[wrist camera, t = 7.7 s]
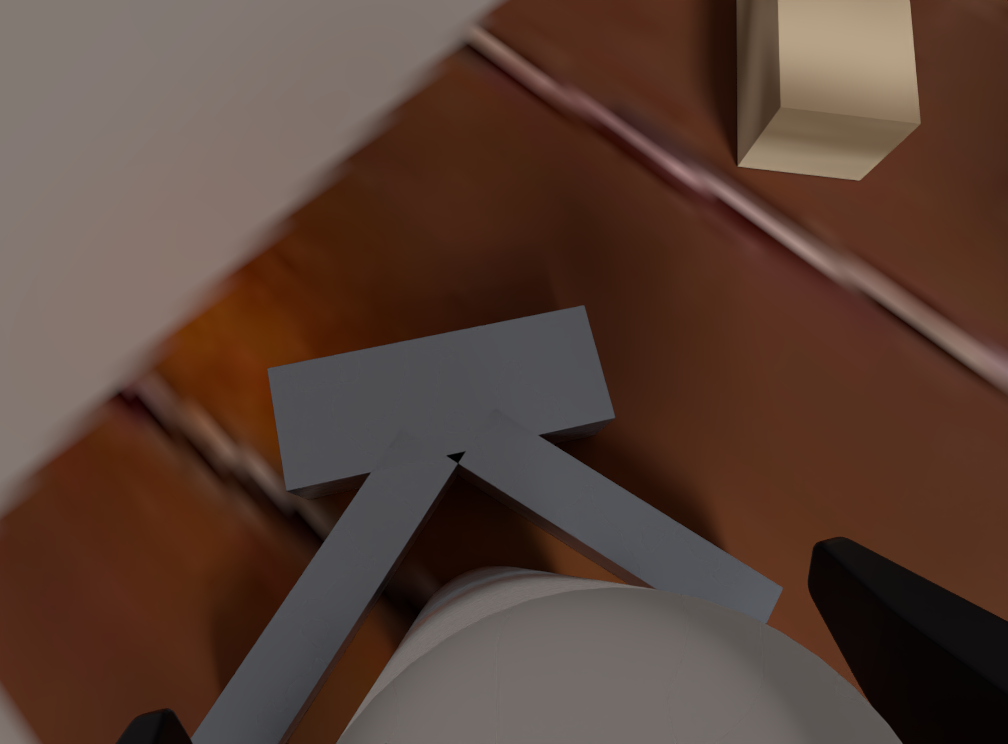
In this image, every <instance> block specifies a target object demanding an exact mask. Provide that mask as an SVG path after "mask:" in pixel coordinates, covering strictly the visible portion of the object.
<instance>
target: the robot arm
mask: <svg viewBox="0 0 1008 744" xmlns="http://www.w3.org/2000/svg"><path fill="white" fill-rule="evenodd" d="M808 588H809V592H810V595H811V597H812V599H813V601H814V603H815V605H816V607H817V609H818V610H819V612H820V614H821V616H822V618H823V620H824V622H825V623H826V625H827V627H828V629H829V631H830V633H831V634H832V636H833V638H834V640H835V642H836V644H837V645H838V647H839V649H840V651H841V653H842V655H843V657H844V658H845V660H846V662H847V664H848V666H849V668H850V669H851V671H852V673H853V675H854V677H855V679H856V680H857V682H858V684H859V686H860V687H861V689H862V691H863V693H864V694H865V696H866V698H867V699H868V701H869V702H870V704H871V705H872V707H873V708H874V709H875V710H876V711H877V712H878V713H879V715H880V716H881V717H882V718H883V719H884V720H885V721H886V722H887V723H888V724H889V726H890V727H891V729H892V730H893V731H894V733H895V734H896V735H897V737H898V738H899V739H900V741H901V742H902V744H1008V621H1006V620H1004V619H1002V618H1000V617H998V616H996V615H994V614H992V613H990V612H989V611H987V610H985V609H983V608H981V607H979V606H977V605H975V604H973V603H971V602H969V601H967V600H966V599H964V598H962V597H960V596H958V595H956V594H954V593H952V592H950V591H948V590H946V589H944V588H942V587H941V586H939V585H937V584H935V583H933V582H931V581H929V580H927V579H925V578H923V577H921V576H919V575H917V574H916V573H914V572H912V571H910V570H908V569H906V568H904V567H902V566H900V565H898V564H896V563H894V562H892V561H891V560H889V559H887V558H885V557H883V556H881V555H879V554H877V553H875V552H873V551H871V550H869V549H867V548H866V547H864V546H862V545H860V544H858V543H856V542H854V541H852V540H850V539H848V538H845V537H835V538H831V539H827V540H823V541H819V542H817V543H816V544H815V545H814V547H813V551H812V557H811V563H810V569H809V575H808ZM116 744H193V743H192V741H191V739H190V737H189V736H188V734H187V732H186V731H185V729H184V727H183V726H182V724H181V722H180V721H179V719H178V717H177V716H176V714H175V713H174V711H173V710H171V709H169V708H164V709H160V710H156V711H153V712H149V713H145V714H142V715H139V716H137V717H136V718H135V719H134V720H133V721H132V722H131V723H130V724H129V726H128V727H127V728H126V730H125V731H124V733H123V734H122V735H121V737H120V738H119V740H118V741H117V742H116Z"/></svg>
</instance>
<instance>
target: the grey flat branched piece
mask: <svg viewBox="0 0 1008 744" xmlns="http://www.w3.org/2000/svg"><path fill="white" fill-rule="evenodd" d="M267 370H268V376H269V383H270V389H271V396H272V402H273V408H274V415H275V421H276V428H277V434H278V441H279V447H280V454H281V460H282V466H283V473H284V479H285V486H286V491H288V492H290V493H293V494H295V495H298V496H300V497H303V498H305V499H308V500H309V499H313V498H318V497H322V496H327V495H331V494H336V493H340V492H345V491H349V490H353V489H358V488H360V490H359V491H358V493H357V494H356V496H355V497H354V498H353V500H352V501H351V503H350V504H349V506H348V507H347V509H346V510H345V512H344V513H343V515H342V516H341V518H340V519H339V521H338V522H337V524H336V525H335V527H334V528H333V529H332V531H331V532H330V534H329V535H328V537H327V538H326V540H325V541H324V543H323V544H322V546H321V547H320V549H319V550H318V552H317V553H316V555H315V556H314V558H313V559H312V560H311V562H310V563H309V565H308V566H307V568H306V569H305V571H304V572H303V574H302V575H301V577H300V578H299V580H298V581H297V583H296V584H295V586H294V587H293V589H292V590H291V591H290V593H289V594H288V596H287V597H286V599H285V600H284V602H283V603H282V605H281V606H280V608H279V609H278V611H277V612H276V614H275V615H274V617H273V618H272V620H271V621H270V622H269V624H268V625H267V627H266V628H265V630H264V631H263V633H262V634H261V636H260V637H259V639H258V640H257V642H256V643H255V645H254V646H253V648H252V649H251V651H250V652H249V653H248V655H247V656H246V658H245V659H244V661H243V662H242V664H241V665H240V667H239V668H238V670H237V671H236V673H235V674H234V676H233V677H232V679H231V680H230V682H229V683H228V684H227V686H226V687H225V689H224V690H223V692H222V693H221V695H220V696H219V698H218V699H217V701H216V702H215V704H214V705H213V707H212V708H211V710H210V711H209V713H208V714H207V715H206V717H205V718H204V720H203V721H202V723H201V724H200V726H199V727H198V729H197V730H196V732H195V733H194V735H193V736H192V738H191V741H192V743H193V744H286V743H287V741H288V740H289V738H290V737H291V735H292V733H293V732H294V730H295V729H296V727H297V726H298V724H299V722H300V721H301V719H302V718H303V716H304V715H305V713H306V712H307V710H308V708H309V707H310V705H311V704H312V702H313V701H314V699H315V697H316V696H317V694H318V693H319V691H320V690H321V688H322V686H323V685H324V683H325V682H326V680H327V679H328V677H329V676H330V674H331V672H332V671H333V669H334V668H335V666H336V665H337V663H338V661H339V660H340V658H341V657H342V655H343V654H344V652H345V650H346V649H347V647H348V646H349V644H350V643H351V641H352V640H353V638H354V636H355V635H356V633H357V632H358V630H359V629H360V627H361V625H362V624H363V622H364V621H365V619H366V618H367V616H368V614H369V613H370V611H371V610H372V608H373V607H374V605H375V604H376V602H377V600H378V599H379V597H380V596H381V594H382V593H383V591H384V589H385V588H386V586H387V585H388V583H389V582H390V580H391V578H392V577H393V575H394V574H395V572H396V571H397V569H398V568H399V566H400V564H401V563H402V561H403V560H404V558H405V557H406V555H407V553H408V552H409V550H410V549H411V547H412V546H413V544H414V542H415V541H416V539H417V538H418V536H419V535H420V533H421V532H422V530H423V528H424V527H425V525H426V524H427V522H428V521H429V519H430V517H431V516H432V514H433V513H434V511H435V510H436V508H437V506H438V505H439V503H440V502H441V500H442V499H443V497H444V496H445V494H446V492H447V491H448V489H449V488H450V486H451V485H452V483H453V481H454V480H455V478H456V477H457V471H458V476H459V477H461V478H463V479H464V480H466V481H467V482H469V483H471V484H472V485H474V486H475V487H477V488H478V489H480V490H482V491H483V492H485V493H486V494H488V495H489V496H491V497H493V498H494V499H496V500H497V501H499V502H500V503H502V504H504V505H505V506H507V507H508V508H510V509H511V510H513V511H515V512H516V513H518V514H519V515H521V516H522V517H524V518H526V519H527V520H529V521H530V522H532V523H533V524H535V525H537V526H538V527H540V528H541V529H543V530H544V531H546V532H548V533H549V534H551V535H552V536H554V537H555V538H557V539H559V540H560V541H562V542H563V543H565V544H566V545H568V546H570V547H571V548H573V549H574V550H576V551H577V552H579V553H581V554H582V555H584V556H585V557H587V558H588V559H590V560H592V561H593V562H595V563H596V564H598V565H599V566H601V567H603V568H604V569H606V570H607V571H609V572H610V573H612V574H614V575H615V576H617V577H618V578H620V579H621V580H623V581H625V582H626V583H628V584H629V585H631V586H638V587H644V588H650V589H657V590H662V591H667V592H672V593H677V594H682V595H687V596H692V597H697V598H701V599H704V600H707V601H710V602H713V603H716V604H719V605H722V606H725V607H728V608H730V609H733V610H736V611H739V612H742V613H744V614H746V615H748V616H750V617H752V618H754V619H756V620H758V621H760V622H762V623H764V624H766V623H767V621H768V619H769V617H770V615H771V612H772V610H773V608H774V606H775V604H776V602H777V600H778V598H779V596H780V593H781V591H782V589H783V588H782V587H780V586H779V585H777V584H776V583H774V582H772V581H771V580H769V579H768V578H766V577H764V576H763V575H761V574H760V573H758V572H756V571H755V570H753V569H752V568H750V567H748V566H747V565H745V564H744V563H742V562H740V561H739V560H737V559H736V558H734V557H732V556H731V555H729V554H728V553H726V552H724V551H723V550H721V549H720V548H718V547H716V546H715V545H713V544H712V543H710V542H708V541H707V540H705V539H704V538H702V537H700V536H699V535H697V534H696V533H694V532H692V531H691V530H689V529H688V528H686V527H684V526H683V525H681V524H679V523H678V522H676V521H675V520H673V519H671V518H670V517H668V516H667V515H665V514H663V513H662V512H660V511H659V510H657V509H655V508H654V507H652V506H651V505H649V504H647V503H646V502H644V501H643V500H641V499H639V498H638V497H636V496H635V495H633V494H631V493H630V492H628V491H627V490H625V489H623V488H622V487H620V486H619V485H617V484H615V483H614V482H612V481H611V480H609V479H607V478H606V477H604V476H603V475H601V474H599V473H598V472H596V471H595V470H593V469H591V468H590V467H588V466H587V465H585V464H583V463H582V462H580V461H579V460H577V459H575V458H574V457H572V456H570V455H569V454H567V453H566V452H564V451H562V450H561V449H559V448H558V447H556V446H554V444H558V443H563V442H567V441H572V440H576V439H580V438H585V437H589V436H594V435H596V434H597V433H598V432H600V431H601V430H602V429H603V428H604V427H605V426H606V425H608V424H609V423H610V422H611V421H612V420H613V419H615V415H614V411H613V407H612V404H611V400H610V397H609V393H608V389H607V386H606V382H605V379H604V375H603V371H602V368H601V364H600V361H599V357H598V353H597V350H596V346H595V343H594V339H593V335H592V332H591V328H590V325H589V321H588V317H587V314H586V310H585V307H584V305H583V306H578V307H573V308H568V309H563V310H558V311H553V312H548V313H543V314H538V315H533V316H528V317H523V318H518V319H513V320H508V321H503V322H498V323H493V324H488V325H483V326H478V327H473V328H468V329H463V330H458V331H453V332H448V333H443V334H438V335H433V336H428V337H423V338H418V339H413V340H408V341H403V342H398V343H393V344H388V345H383V346H378V347H373V348H368V349H363V350H358V351H353V352H347V353H342V354H337V355H332V356H327V357H322V358H317V359H312V360H307V361H302V362H297V363H292V364H287V365H282V366H277V367H272V368H267Z"/></svg>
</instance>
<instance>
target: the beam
mask: <svg viewBox="0 0 1008 744" xmlns="http://www.w3.org/2000/svg"><path fill="white" fill-rule="evenodd" d="M920 124H921V123H920V111H919V100H918V89H917V77H916V66H915V55H914V43H913V32H912V20H911V9H910V0H737V141H738V167H747V168H756V169H764V170H773V171H782V172H790V173H799V174H807V175H816V176H825V177H833V178H842V179H851V180H859V181H860V180H861V179H862V178H863V177H864V176H865V175H866V174H867V173H868V172H869V171H870V170H871V169H873V168H874V167H875V166H876V165H877V164H878V163H879V162H880V161H881V160H882V159H883V158H884V157H885V156H887V155H888V154H889V153H890V152H891V151H892V150H893V149H894V148H895V147H896V146H897V145H898V144H899V143H901V142H902V141H903V140H904V139H905V138H906V137H907V136H908V135H909V134H910V133H911V132H912V131H913V130H915V129H916V128H917V127H918V126H919V125H920Z"/></svg>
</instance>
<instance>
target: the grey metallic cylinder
mask: <svg viewBox="0 0 1008 744" xmlns="http://www.w3.org/2000/svg"><path fill="white" fill-rule="evenodd" d="M336 744H902V742H901V741H900V739H899V738H898V737H897V735H896V734H895V733H894V731H893V730H892V729H891V727H890V726H889V724H888V723H887V722H886V721H885V720H884V719H883V718H882V717H881V716H880V715H879V713H878V712H877V711H876V710H875V709H874V708H873V707H872V706H871V705H870V704H869V703H868V702H867V700H866V699H865V698H864V697H863V696H862V695H861V694H860V693H859V692H858V691H857V690H856V689H855V688H854V687H853V686H852V685H851V684H850V683H849V682H847V681H846V680H845V679H844V678H843V677H842V676H840V675H839V674H838V673H837V672H836V671H835V670H833V669H832V668H831V667H830V666H829V665H828V664H826V663H825V662H824V661H823V660H822V659H821V658H819V657H818V656H816V655H815V654H813V653H812V652H810V651H809V650H807V649H806V648H804V647H803V646H801V645H800V644H798V643H797V642H795V641H794V640H792V639H791V638H789V637H788V636H786V635H785V634H783V633H782V632H780V631H778V630H776V629H774V628H772V627H770V626H768V625H766V624H764V623H762V622H760V621H758V620H756V619H754V618H752V617H750V616H748V615H746V614H744V613H742V612H739V611H736V610H733V609H730V608H728V607H725V606H722V605H719V604H716V603H713V602H710V601H707V600H704V599H701V598H697V597H692V596H687V595H682V594H677V593H672V592H667V591H662V590H657V589H650V588H644V587H638V586H631V585H625V584H619V583H612V582H606V581H600V580H593V579H587V578H581V577H574V576H568V575H562V574H556V573H549V572H543V571H537V570H530V569H524V568H518V567H511V566H499V565H495V566H484V567H480V568H475V569H472V570H469V571H467V572H464V573H462V574H460V575H458V576H456V577H454V578H452V579H451V580H450V581H448V582H447V583H445V584H444V585H443V586H442V587H441V588H439V589H438V590H437V591H436V592H435V593H434V594H433V595H432V597H431V598H430V599H429V600H428V601H427V603H426V604H425V606H424V607H423V609H422V610H421V612H420V613H419V615H418V617H417V618H416V620H415V621H414V623H413V624H412V626H411V627H410V629H409V631H408V632H407V634H406V635H405V637H404V638H403V640H402V641H401V643H400V645H399V646H398V648H397V649H396V651H395V652H394V654H393V655H392V657H391V659H390V660H389V662H388V663H387V665H386V666H385V668H384V669H383V671H382V673H381V674H380V676H379V677H378V679H377V680H376V682H375V684H374V685H373V687H372V688H371V690H370V691H369V693H368V694H367V696H366V698H365V699H364V701H363V702H362V704H361V705H360V707H359V708H358V710H357V712H356V713H355V715H354V716H353V718H352V719H351V721H350V722H349V724H348V726H347V727H346V729H345V730H344V732H343V733H342V735H341V736H340V738H339V740H338V741H337V743H336Z"/></svg>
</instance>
